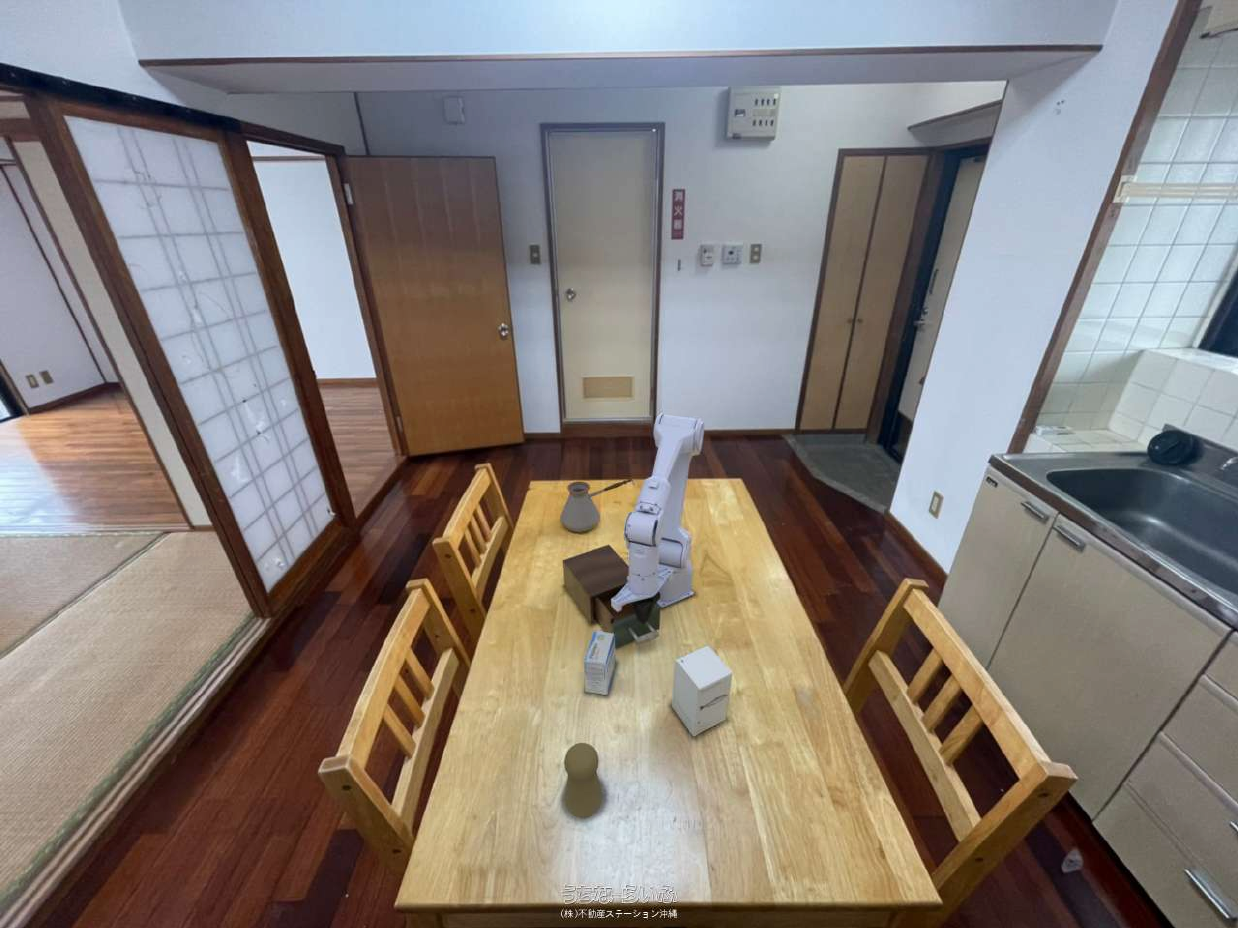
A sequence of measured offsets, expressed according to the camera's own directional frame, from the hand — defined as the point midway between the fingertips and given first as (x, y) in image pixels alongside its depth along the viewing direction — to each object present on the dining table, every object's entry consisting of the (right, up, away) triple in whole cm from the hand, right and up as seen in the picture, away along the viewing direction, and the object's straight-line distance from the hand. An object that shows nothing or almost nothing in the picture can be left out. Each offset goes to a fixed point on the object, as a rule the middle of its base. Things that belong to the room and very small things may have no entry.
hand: (642, 619), depth 105 cm
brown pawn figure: (-10, -22, -23) cm, 33 cm away
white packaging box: (+10, -15, -10) cm, 20 cm away
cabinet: (-9, 0, +18) cm, 21 cm away
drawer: (-3, -4, +8) cm, 10 cm away
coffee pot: (-11, +14, +45) cm, 48 cm away
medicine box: (-8, -11, -3) cm, 14 cm away
